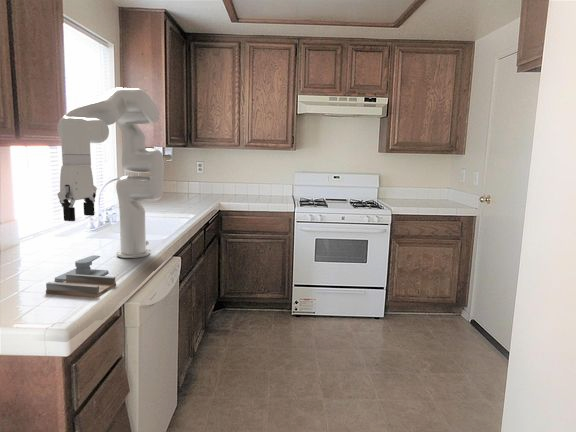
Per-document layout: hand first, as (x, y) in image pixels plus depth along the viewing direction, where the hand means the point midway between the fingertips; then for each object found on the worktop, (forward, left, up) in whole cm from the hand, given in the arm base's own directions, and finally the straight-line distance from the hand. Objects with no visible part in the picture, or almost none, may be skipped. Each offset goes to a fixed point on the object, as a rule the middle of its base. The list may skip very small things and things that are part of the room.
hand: (79, 218), depth 129 cm
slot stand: (0, 0, -22) cm, 22 cm away
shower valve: (-20, -7, -20) cm, 29 cm away
